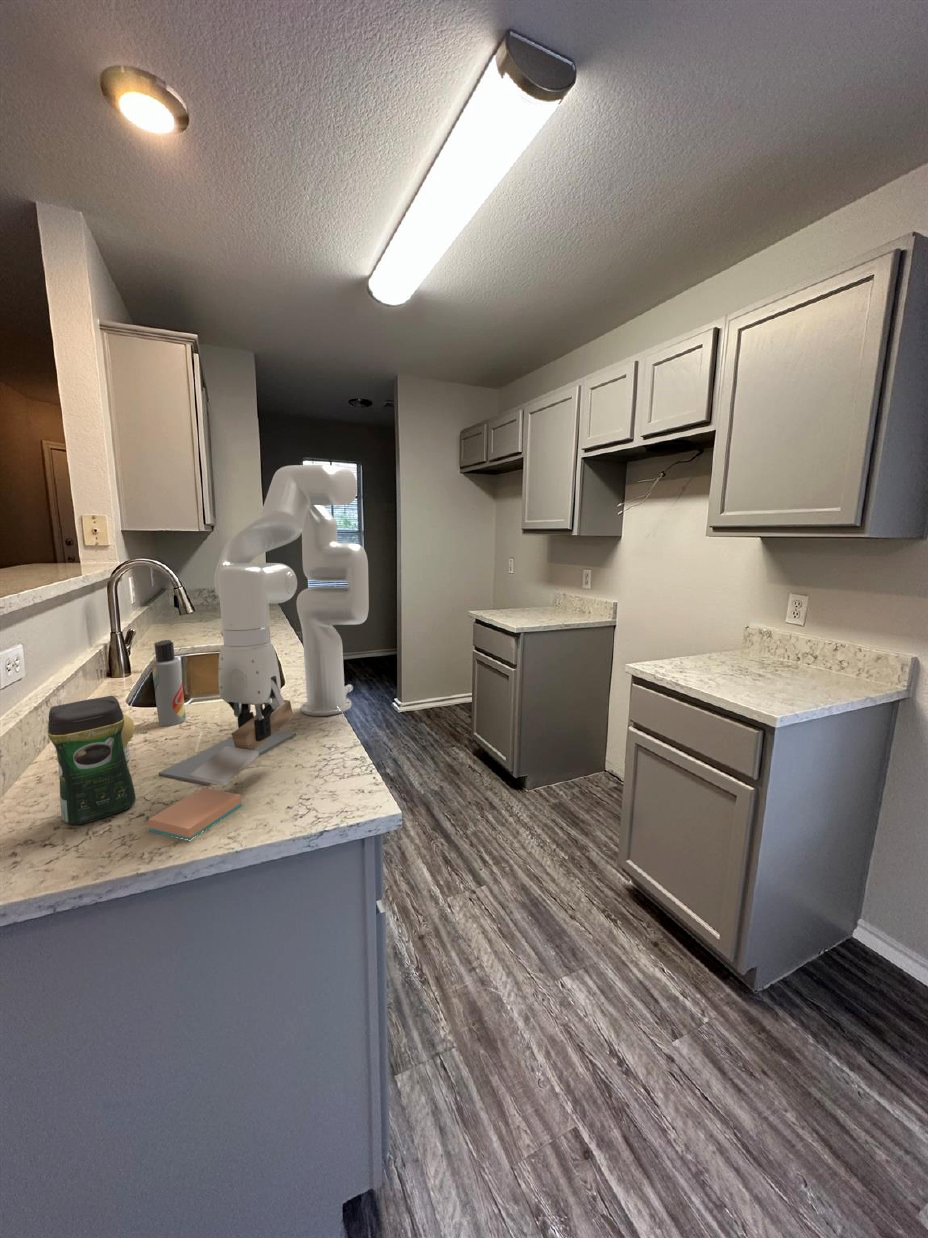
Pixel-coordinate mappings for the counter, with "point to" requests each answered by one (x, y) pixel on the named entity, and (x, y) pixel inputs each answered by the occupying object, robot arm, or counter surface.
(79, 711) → the coffee jar
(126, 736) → the light bulb
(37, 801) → the counter surface
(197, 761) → the mat
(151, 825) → the kitchen sponge
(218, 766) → the turner
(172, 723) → the lotion bottle
